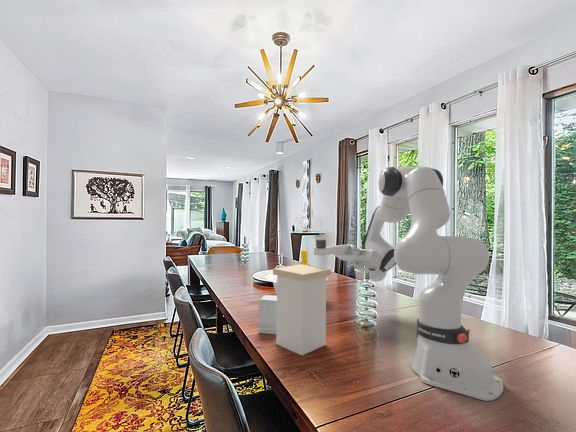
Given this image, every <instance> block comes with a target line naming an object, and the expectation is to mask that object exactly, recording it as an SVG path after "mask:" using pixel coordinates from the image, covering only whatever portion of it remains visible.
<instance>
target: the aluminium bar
mask: <svg viewBox="0 0 576 432" xmlns="http://www.w3.org/2000/svg"><path fill="white" fill-rule="evenodd" d="M350 246H354V247H356V244H352V243H347V244H339V245H332V246H331V245H330V246H327V239H321V238H320V239H318V238H317V239H316V240H315V247H314V248H313V251H314V253H313V255H314V256H319V257H320V256H329V255H333V254H336V253H343V252H350V251H351V250H349V248H350Z"/></svg>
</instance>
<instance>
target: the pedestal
mask: <svg viewBox="0 0 576 432" xmlns="http://www.w3.org/2000/svg"><path fill="white" fill-rule="evenodd" d="M308 265H309V264H308ZM308 265H302V264H301V263H300V264H295V265H287V266H282V267H276V268H273V269H272V274H273V275H277V284H276V285H277V290H276V291H277V292H276V296H277V332H276V334H275V335H276V336H275V337H276V341H275V343H276V345H278V346H280V347H282V348H284V349H286V350H288V351H291V352H293V353H295V354H298V355H300V356H304V355H306V354H308V353H311V352H313V351H315V350H317V349H319V348H322V347H325V346H326V345H327V342H326V341H327V339H326V335H327V280H326V277H329V276H331V270H332V269H331V268H325V267H320V266H319V267H318V266H314V265H313V266H312V265H309V266H308Z"/></svg>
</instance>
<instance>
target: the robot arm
mask: <svg viewBox="0 0 576 432" xmlns="http://www.w3.org/2000/svg"><path fill="white" fill-rule="evenodd" d="M443 177H444V176H443V174H442V173H441V171H440V170H438V169H435V168H431V167H429V166H418V167H417V166H415V167H414V166H398V167H395V166H390V167H386V168H384V169H382V170H381V172H380V174H379V176H378V189H379V191H380V193H381V194H382V195H383V196H382V200H381V204H380V205H378V206H377V207H376V208H375V209H374V211H373V213H372V215H371V218H370V222H369V224H368V227H367V231H366V233H365V235H364V236H363V238H362V241H361V248H358V247H356V246H355V247H354V246H350V248H349V250H351V251H350V252H343V253H336V254H332V255H333V256H335V258H338V259H339V260H341V261H344V262H351V265H352V267H353V268H354V269H355V270H357V271H358V272H360V273H361V274H362V275H363V276H364V269H365V274H366V273H368V272H369V273H370V279H369V281H372V282H381V281H383V280H384V279H385V278H386V276H387V272H388V271H390V270H391V269H392V268H394V266H395V265H396V266H397V267H398V268H399V269H400V270H401V271H403V272H406V273H411V274H415V275H437V277H436V279H435V281H434V282H433V283H432V284H430V285H429V286H426V287H425V288H423V289H422V290H421V292H420V293H419V295H418V318H417V320H416V326H415V328H416V329H415V331H416V338H417V341H416V348H415V352H414V353H415V354H414V358H413V360H412V363H411V368H412V370H413V371H414V372H415V374H417V375H418V376H419V378H420V380H421V382H423V383H424V384H427V385H430V386H434V387H436V388H440V389H443V390H447V391H451V392H453V393H458V394H461V395H464V396H466V397H467V396H468V397H471V398H475V399H478V400H481V401H485V402H486V401H487V402H489V401H490V402H491V401H494V400H497V399H498V398H499V397H501V395H502V394H503V392H504V383H503V381H502V379H501V378H500V377H499V376H497V375H494V371H493V370H494V368H493V365H492V363H491V362H492V361H491V360H490V359H489V357H488V356H487V355H485V354H484V353H483V352H482V351H480V350H479V349H478V348H477V347H476V346H475V345H474V344H473V343H472V342H471V341H470V340H469V339H470V334H471V329H470V328H468V329H467V328H466V327H464V326H463V324H462V311H463V301H464V296H465V293H466V291H467V290H468V287H469V285H470V284H471V282H472V281H473V280H474V279H475V278H476V277H477V276H478V275H479V274H480V273H482V272H484V271H485V270H486V269H487V267H488V266H489V262H490V252H489V248H488V247H487V245H486V244H485V243H484V242H483V241H482V240H481V239H476V238H473V237H467V236H462V235H461V236H458V235H457V236H450V235H449V236H448V235H446V236H445V235H439V234H438V233H437V230H439V229H441V228H442V227H444V226H445V225H446V224H447V223H448V222H449V221H450V218H451V210H450V207H449V203H448V200H447V199H448V198H447V197H446V193H445V189H444V178H443ZM409 214H410V215H409ZM408 215H409V216H410V227H409V230H408V232H407V233H406V234H405V235H404V236H403V237H402V238H400V239H399V240H398V242H397V243H396V244H395V246H393V245H391V244H390V243H389V242H387V241H386V240H385V239H384V238H383V237H382V235H381V232H382V229H383V227H384V223H390V224H391V223H393V224H395V223H399V222H402V221H404V220H405V219H406V218H407V217H408ZM364 265H365V268H364Z"/></svg>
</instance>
